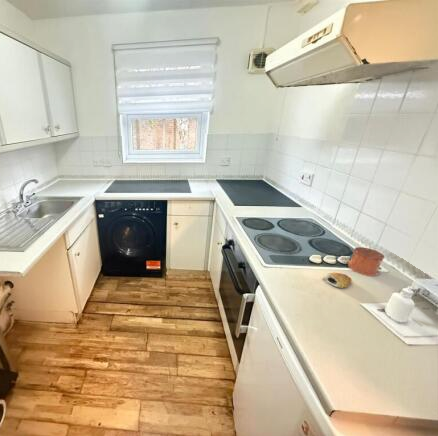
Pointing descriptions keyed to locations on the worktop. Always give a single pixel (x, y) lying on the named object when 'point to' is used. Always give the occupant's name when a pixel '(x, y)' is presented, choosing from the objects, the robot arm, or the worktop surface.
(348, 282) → the pastry
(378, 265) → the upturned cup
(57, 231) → the worktop surface
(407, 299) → the eye dropper bottle
